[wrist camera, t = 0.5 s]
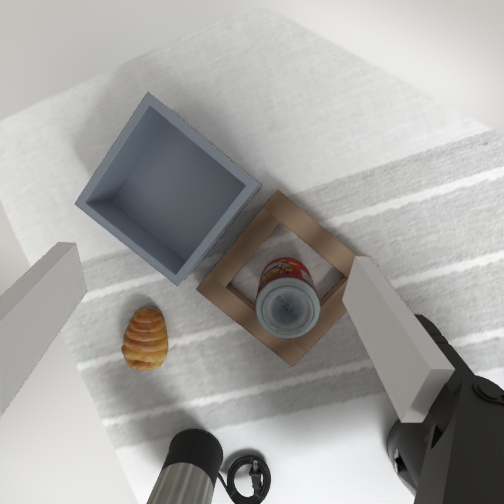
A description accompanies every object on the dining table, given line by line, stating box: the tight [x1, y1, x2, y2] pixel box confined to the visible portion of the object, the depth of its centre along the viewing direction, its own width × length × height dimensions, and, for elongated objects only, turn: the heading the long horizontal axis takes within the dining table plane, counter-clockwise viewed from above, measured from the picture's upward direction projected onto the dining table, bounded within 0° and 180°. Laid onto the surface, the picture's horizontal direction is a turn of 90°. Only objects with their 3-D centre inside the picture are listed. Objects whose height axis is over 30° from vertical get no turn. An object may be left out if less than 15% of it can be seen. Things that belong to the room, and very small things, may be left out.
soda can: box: [255, 258, 320, 338], centre depth 38 cm, size 7×7×12 cm
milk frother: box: [147, 429, 271, 504], centre depth 43 cm, size 14×16×15 cm
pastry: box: [122, 307, 168, 370], centre depth 46 cm, size 9×7×4 cm
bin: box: [75, 92, 261, 286], centre depth 39 cm, size 16×16×7 cm
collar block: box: [196, 189, 356, 367], centre depth 43 cm, size 18×18×2 cm
